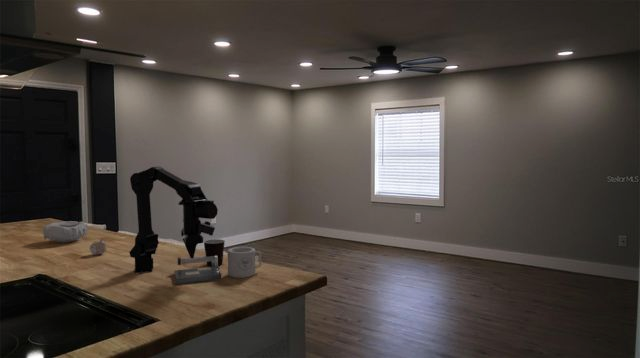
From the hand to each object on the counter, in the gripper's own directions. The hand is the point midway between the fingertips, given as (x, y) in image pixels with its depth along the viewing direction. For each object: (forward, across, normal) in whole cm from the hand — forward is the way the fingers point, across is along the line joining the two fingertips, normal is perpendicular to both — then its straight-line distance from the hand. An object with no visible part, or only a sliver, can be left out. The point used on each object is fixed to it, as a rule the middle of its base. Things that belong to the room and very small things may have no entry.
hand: (192, 258), depth 167 cm
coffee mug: (+8, +19, -12) cm, 24 cm away
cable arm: (+7, +10, -3) cm, 13 cm away
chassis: (+8, +1, -2) cm, 8 cm away
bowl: (+8, +94, +54) cm, 109 cm away
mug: (+8, -1, -20) cm, 22 cm away
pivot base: (+8, +10, -10) cm, 16 cm away
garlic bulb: (+8, +56, +36) cm, 67 cm away
